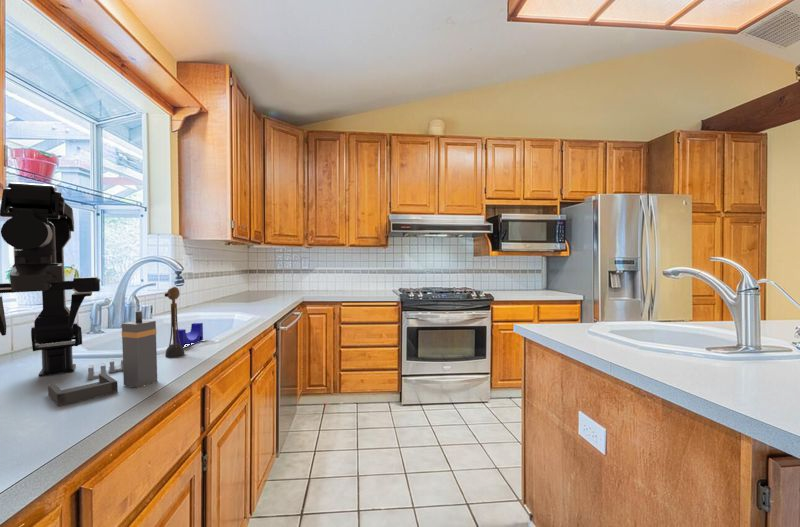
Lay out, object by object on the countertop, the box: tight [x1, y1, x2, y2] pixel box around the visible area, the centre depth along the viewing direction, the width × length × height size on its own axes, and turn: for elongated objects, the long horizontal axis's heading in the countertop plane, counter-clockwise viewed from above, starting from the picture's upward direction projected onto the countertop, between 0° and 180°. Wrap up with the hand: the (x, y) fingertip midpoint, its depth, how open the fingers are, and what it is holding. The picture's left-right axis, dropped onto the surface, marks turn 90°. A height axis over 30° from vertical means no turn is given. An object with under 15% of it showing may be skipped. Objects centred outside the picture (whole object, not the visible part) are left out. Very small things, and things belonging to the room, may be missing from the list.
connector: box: [121, 310, 158, 388], centre depth 85 cm, size 5×5×16 cm
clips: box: [86, 357, 123, 380], centre depth 95 cm, size 7×13×3 cm, turn 128°
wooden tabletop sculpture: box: [164, 286, 185, 359], centre depth 108 cm, size 6×5×20 cm
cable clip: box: [176, 322, 204, 347], centre depth 122 cm, size 12×4×6 cm, turn 1°
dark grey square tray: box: [47, 373, 119, 407], centre depth 79 cm, size 10×10×2 cm
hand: (38, 331), depth 72 cm, fingers open, 9 cm apart
